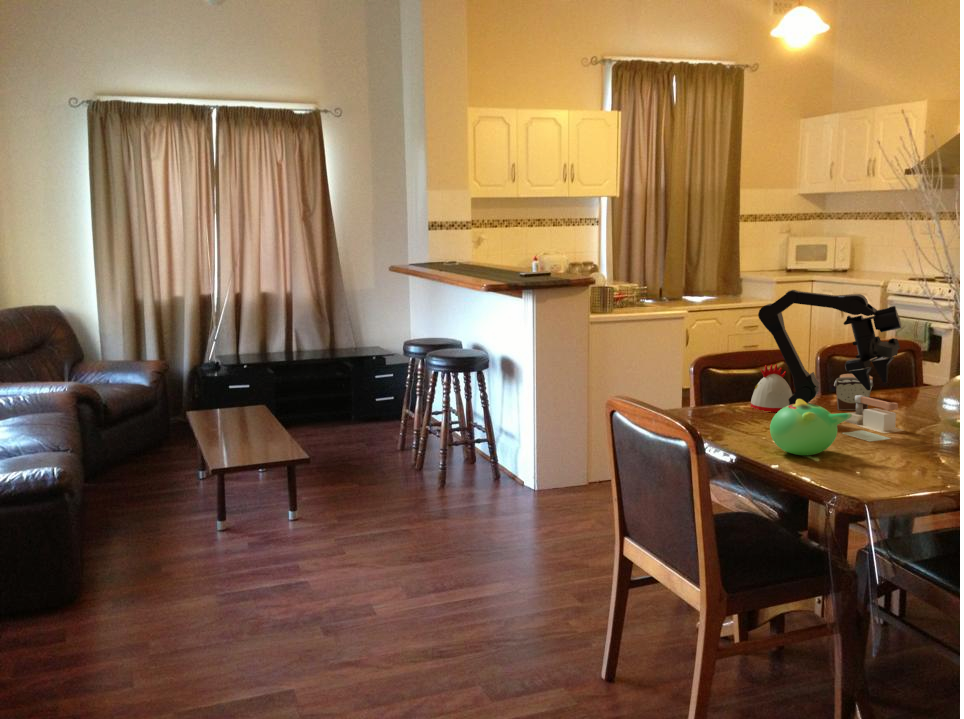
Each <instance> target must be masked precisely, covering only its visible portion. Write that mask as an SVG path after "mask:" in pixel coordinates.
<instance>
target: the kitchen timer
mask: <svg viewBox="0 0 964 719" xmlns="http://www.w3.org/2000/svg"><path fill="white" fill-rule="evenodd" d="M782 369H783V368H782V367H779V369H778V365H777V364H775V366H774V368H773V364H770V366H769V369H768V366H767V364H765V365H764V370H763V369H762V368H760V372H761V374H762V376H763V377H762V378H761V379H760V380H759V381H758V383H757V384H756V385H755V386H754V390H753V393H752V396H751V400H750V408H751V407H753V408H755V409H759V410H764V411H771V412H778V411H779V410H781V409H782V408H784V407H786V406H788V405H789V400H788V399H789V398H790V397H791V396H792V395H793V392H792V390H791V387H790V385H789V384H788V383H789V382H787V381H786V379H784V377H785V375H786V373H787V372H786V370H785V371H784V372H783V373H782ZM781 373H782V374H781ZM771 412H770V413H771Z"/></svg>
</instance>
